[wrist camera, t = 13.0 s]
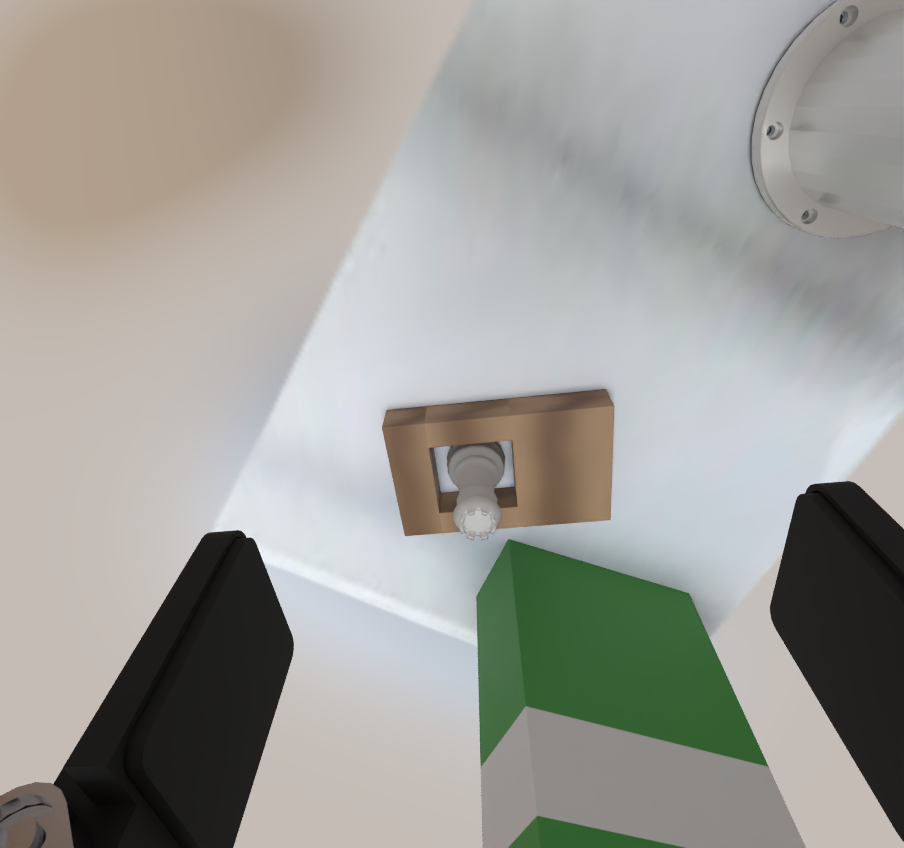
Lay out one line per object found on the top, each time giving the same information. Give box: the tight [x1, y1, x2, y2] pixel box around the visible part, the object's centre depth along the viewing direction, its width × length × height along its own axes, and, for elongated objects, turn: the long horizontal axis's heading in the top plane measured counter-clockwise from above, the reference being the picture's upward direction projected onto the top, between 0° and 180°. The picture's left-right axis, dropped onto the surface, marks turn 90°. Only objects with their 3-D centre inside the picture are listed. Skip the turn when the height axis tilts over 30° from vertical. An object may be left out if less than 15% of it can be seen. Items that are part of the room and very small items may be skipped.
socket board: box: [382, 389, 614, 536], centre depth 41 cm, size 16×10×2 cm, turn 97°
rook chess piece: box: [447, 442, 505, 540], centre depth 39 cm, size 4×4×8 cm
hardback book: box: [477, 540, 806, 848], centre depth 39 cm, size 18×7×24 cm, turn 70°
